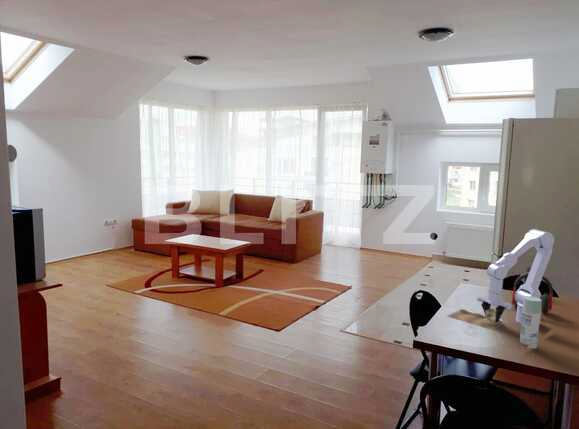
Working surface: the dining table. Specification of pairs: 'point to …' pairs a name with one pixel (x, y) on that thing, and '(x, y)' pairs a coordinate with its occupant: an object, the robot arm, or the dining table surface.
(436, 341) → the dining table surface
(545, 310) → the headphones
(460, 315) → the walnut board
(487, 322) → the block
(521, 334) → the spray paint can
